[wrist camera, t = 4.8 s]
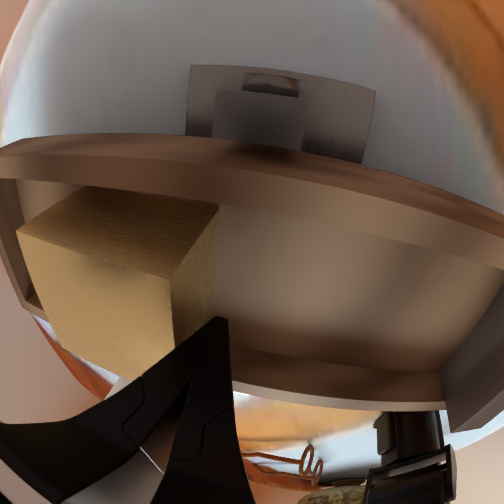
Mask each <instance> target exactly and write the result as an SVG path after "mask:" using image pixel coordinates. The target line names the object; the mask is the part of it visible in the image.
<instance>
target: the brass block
mask: <svg viewBox="0 0 504 504" xmlns="http://www.w3.org/2000/svg"><path fill="white" fill-rule="evenodd" d="M219 210H220V209H218V208H213V207H208V206H203V205H198V204H192V203H187V202H182V201H176V200H171V199H165V198H159V197H154V196H148V195H142V194H136V193H130V192H124V191H117V190H111V189H105V188H98V187H91V186H84V187H82V188H80V189H78V190H77V191H75V192H73V193H72V194H70V195H68V196H67V197H65V198H63V199H62V200H60V201H59V202H57V203H55V204H54V205H52V206H51V207H49V208H48V209H46V210H45V211H43V212H42V213H40V214H39V215H37V216H36V217H34V218H33V219H31V220H30V221H29V222H27V223H26V224H24V225H23V226H22V227H20V228H19V229H17V230H16V234H17V237H18V241H19V244H20V247H21V251H22V254H23V257H24V260H25V263H26V266H27V269H28V272H29V274H30V277H31V280H32V282H33V285H34V287H35V290H36V293H37V295H38V297H39V300H40V302H41V304H42V307H43V309H44V311H45V313H46V316H47V318H48V320H49V322H50V324H51V326H52V328H53V330H54V332H55V334H56V336H57V338H58V340H59V342H60V344H61V346H62V347H63V348H64V349H66V350H68V351H70V352H72V353H74V354H76V355H77V356H79V357H81V358H83V359H85V360H87V361H89V362H91V363H93V364H95V365H97V366H99V367H102V368H104V369H106V370H108V371H110V372H112V373H115V374H117V375H119V376H121V377H124V378H126V379H129V380H131V381H133V380H135V379H136V378H137V377H139V376H142V374H143V373H144V372H145V371H146V370H148V369H149V368H150V367H152V366H153V365H154V364H155V363H157V362H158V361H159V360H161V359H162V358H163V357H164V356H166V355H167V354H168V353H169V352H171V351H172V350H173V349H174V348H176V347H177V346H178V345H179V344H181V343H182V342H183V341H184V340H186V339H187V338H188V337H189V336H191V335H192V334H193V333H194V332H196V331H197V330H198V329H199V328H201V327H202V326H203V325H204V324H205V323H207V322H208V321H209V320H210V319H211V312H212V296H213V282H214V268H215V255H216V243H217V232H218V221H219Z"/></svg>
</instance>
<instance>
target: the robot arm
mask: <svg viewBox="0 0 504 504" xmlns="http://www.w3.org/2000/svg"><path fill="white" fill-rule="evenodd" d="M373 428H377V450H378V455H381V467H379V468H371V469H370V470H369V475H368V477H367V482H366V487H365V492H364V496H363V501H362V504H450V501H453V500H455V498H456V478H457V477H456V475H457V466H456V459H455V452H454V450H453V448H452V446H451V444H448V445H446V446H444V438H443V431H442V425H441V419H440V414H439V410H433V411H387V412H386V413H385V414H384V415H383V416H382V417H381V418H380V419H379V420H377V421H376V422H375V423H374V424H373ZM444 460H446V463H444V464H442V465H441V463H440V462H442V461H444ZM0 504H256V502H255V499H254V497H253V494H252V491H251V488H250V485H249V481H248V477H247V474H246V470H245V466H244V462H243V459H242V455H241V451H240V447H239V442H238V437H237V431H236V423H235V412H234V399H233V384H232V367H231V350H230V330H229V319H228V318H225V317H222V316H218V315H216V316H214V317H213V318H212V319H210V320H209V321H208V322H207V323H205V324H204V325H203V326H202V327H201V328H199V329H198V330H197V331H196V332H194V333H193V334H192V335H191V336H189V337H188V338H187V339H186V340H184V341H183V342H182V343H181V344H179V345H178V346H177V347H176V348H174V349H173V350H172V351H171V352H169V353H168V354H167V355H166V356H164V357H163V358H162V359H161V360H159V361H158V362H157V363H155V364H154V365H153V366H152V367H150V368H149V369H148V370H146V371H145V372H144V373H143V374H142V376H139V377H137V378H136V379H135V380H133V381H132V382H131V383H129V384H128V385H127V386H125V387H124V388H123V389H121V390H120V391H118V392H117V393H115V394H113V395H112V396H110V397H108V398H107V399H105V400H103V401H101V402H100V403H98V404H96V405H94V406H93V407H91V408H89V409H87V410H85V411H84V412H82V413H80V414H78V415H76V416H74V417H72V418H69V419H66V420H63V421H57V422H45V423H29V424H5V423H3V422H2V421H0Z"/></svg>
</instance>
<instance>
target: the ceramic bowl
mask: <svg viewBox="0 0 504 504" xmlns="http://www.w3.org/2000/svg"><path fill="white" fill-rule="evenodd" d="M364 482H365V480H363V479H348V480H339V481H334V482H331V483H330V485H333V486H335V487H332V488H327V489H323V490H320V491H316V492H314V493H311V494H308V495H306V496H304V497H303V498H302V499H300V500H299V501H298V503H297V504H362V501H363V496H364V492H365V487H366V485H363V486H362V485H360V484H362V483H364Z"/></svg>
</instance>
